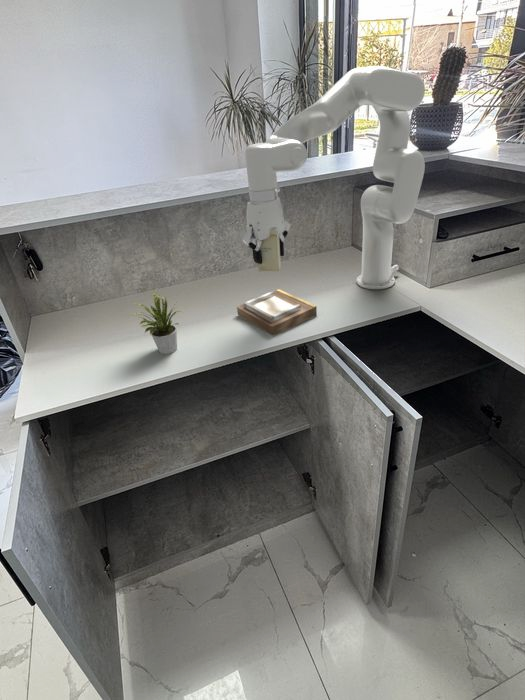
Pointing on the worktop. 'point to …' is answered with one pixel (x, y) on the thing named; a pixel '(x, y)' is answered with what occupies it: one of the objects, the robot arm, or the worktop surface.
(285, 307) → the dock
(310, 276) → the worktop surface
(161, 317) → the house plant
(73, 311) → the worktop surface
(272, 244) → the skincare box
